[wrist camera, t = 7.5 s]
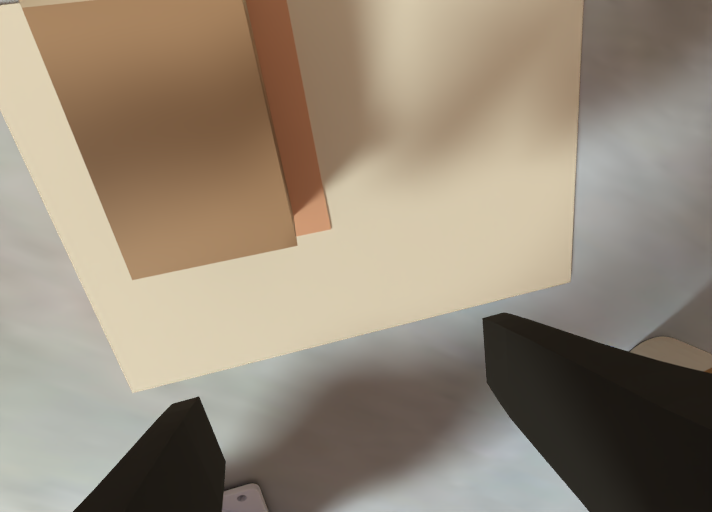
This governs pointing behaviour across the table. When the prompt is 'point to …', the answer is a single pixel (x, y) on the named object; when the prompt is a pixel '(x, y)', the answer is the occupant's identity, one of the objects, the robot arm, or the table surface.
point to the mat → (345, 179)
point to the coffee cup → (675, 353)
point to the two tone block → (169, 126)
